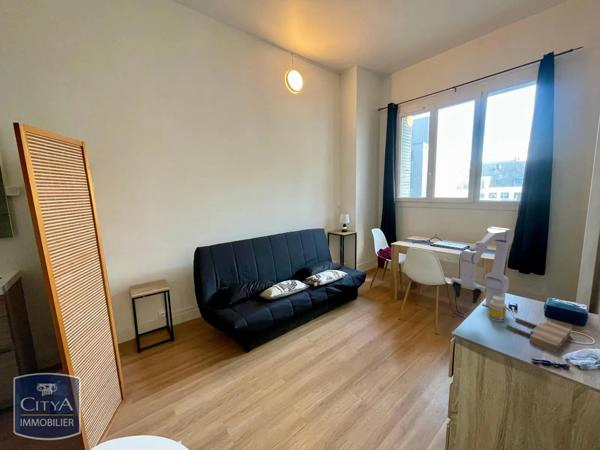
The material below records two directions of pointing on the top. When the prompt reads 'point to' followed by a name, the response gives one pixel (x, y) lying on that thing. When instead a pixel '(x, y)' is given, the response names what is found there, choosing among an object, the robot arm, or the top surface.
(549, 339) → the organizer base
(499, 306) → the pill bottle
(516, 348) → the top surface
